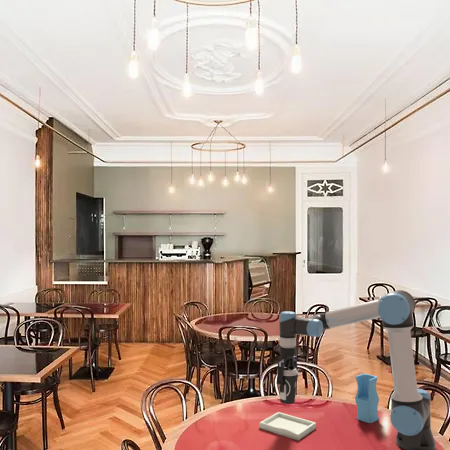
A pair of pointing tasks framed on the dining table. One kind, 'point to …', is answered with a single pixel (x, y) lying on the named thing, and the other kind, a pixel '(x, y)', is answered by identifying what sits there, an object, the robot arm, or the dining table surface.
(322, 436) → the dining table surface
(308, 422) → the tray
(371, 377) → the vase
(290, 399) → the coffee cup
